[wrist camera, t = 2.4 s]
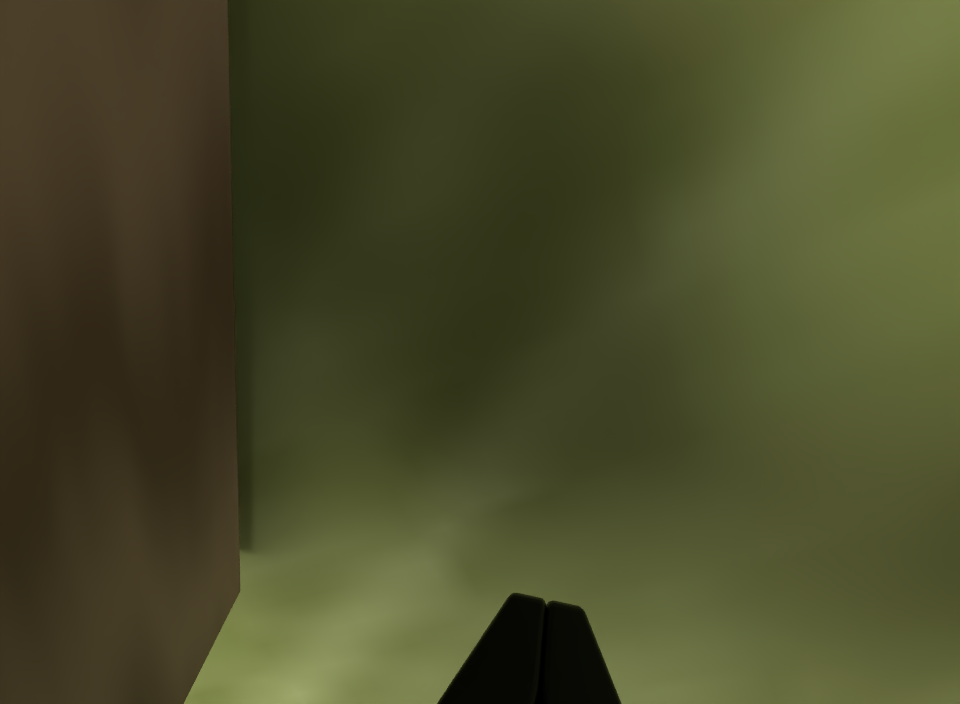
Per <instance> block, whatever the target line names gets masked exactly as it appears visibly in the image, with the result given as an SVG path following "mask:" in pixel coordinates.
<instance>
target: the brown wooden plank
mask: <svg viewBox="0 0 960 704" xmlns="http://www.w3.org/2000/svg"><path fill="white" fill-rule="evenodd" d="M239 592H240V556H239V509H238V462H237V415H236V368H235V321H234V274H233V227H232V179H231V132H230V85H229V38H228V0H0V704H184V702H185V700H186V698H187V696H188V694H189V692H190V690H191V688H192V686H193V684H194V682H195V680H196V678H197V676H198V674H199V672H200V670H201V668H202V666H203V664H204V662H205V660H206V658H207V656H208V654H209V652H210V650H211V648H212V646H213V644H214V642H215V640H216V638H217V636H218V634H219V632H220V630H221V628H222V626H223V624H224V622H225V620H226V618H227V616H228V614H229V612H230V610H231V608H232V606H233V604H234V602H235V600H236V598H237V596H238V594H239Z"/></svg>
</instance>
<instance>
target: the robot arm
mask: <svg viewBox="0 0 960 704" xmlns="http://www.w3.org/2000/svg"><path fill="white" fill-rule="evenodd" d="M437 704H621V701H620V699H619V696H618V694H617V691H616V689H615V686H614V684H613V681H612V679H611V676H610V674H609V671H608V668H607V666H606V663H605V661H604V658H603V656H602V653H601V651H600V648H599V646H598V643H597V641H596V638H595V636H594V633H593V631H592V628H591V626H590V623H589V621H588V618H587V616H586V613H585V611H584V610H583V609H582V608H581V607H579V606H576V605H572V604H567V603H562V602H558V601H550V602H548V603H547V605H546V603H545V601H544V600H543V599H542V598H539V597H534V596H529V595H525V594H520V593H513V594H511V595H510V596H509V597H508V598H507V600H506V601H505V603H504V604H503V606H502V607H501V609H500V610H499V612H498V613H497V615H496V616H495V618H494V619H493V621H492V622H491V624H490V625H489V627H488V628H487V630H486V631H485V633H484V634H483V636H482V637H481V639H480V640H479V642H478V643H477V645H476V646H475V648H474V649H473V651H472V652H471V654H470V655H469V657H468V658H467V660H466V661H465V663H464V664H463V665H462V667H461V668H460V670H459V671H458V673H457V674H456V676H455V677H454V679H453V680H452V682H451V683H450V685H449V686H448V688H447V689H446V691H445V692H444V694H443V695H442V697H441V698H440V700H439V701H438V703H437Z"/></svg>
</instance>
